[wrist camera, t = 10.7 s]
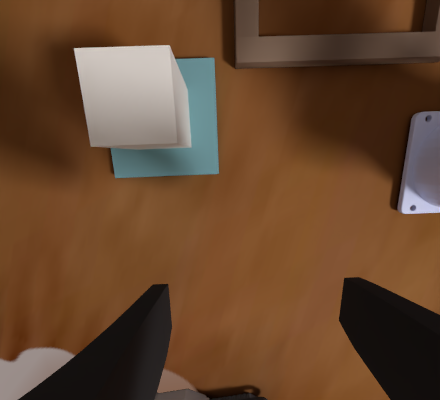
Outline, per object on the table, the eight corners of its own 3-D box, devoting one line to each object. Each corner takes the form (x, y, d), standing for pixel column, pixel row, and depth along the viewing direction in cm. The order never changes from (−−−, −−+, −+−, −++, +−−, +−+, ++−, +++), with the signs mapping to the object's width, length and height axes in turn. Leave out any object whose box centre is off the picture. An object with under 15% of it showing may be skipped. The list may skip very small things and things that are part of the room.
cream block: (187, 89, 14) (169, 45, 9) (191, 147, 15) (177, 142, 9) (131, 91, 14) (73, 48, 9) (138, 149, 15) (90, 146, 9)
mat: (214, 61, 15) (214, 57, 14) (218, 172, 16) (218, 173, 16) (102, 65, 15) (97, 61, 14) (118, 177, 16) (115, 178, 16)
